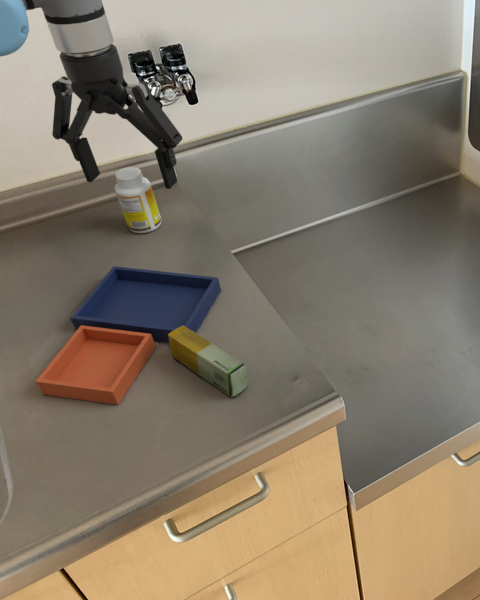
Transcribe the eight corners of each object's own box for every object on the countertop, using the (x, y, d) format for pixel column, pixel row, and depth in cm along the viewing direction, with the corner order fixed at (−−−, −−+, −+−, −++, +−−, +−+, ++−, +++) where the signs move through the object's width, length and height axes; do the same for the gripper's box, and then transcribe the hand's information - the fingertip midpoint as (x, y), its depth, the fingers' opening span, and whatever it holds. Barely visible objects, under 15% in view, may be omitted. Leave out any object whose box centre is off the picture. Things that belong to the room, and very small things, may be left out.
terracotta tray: (43, 394, 77) (35, 381, 75) (87, 338, 84) (80, 325, 83) (118, 405, 76) (112, 391, 74) (156, 346, 83) (151, 333, 81)
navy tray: (76, 331, 85) (69, 317, 84) (118, 278, 94) (113, 265, 92) (188, 344, 83) (184, 331, 82) (221, 290, 92) (218, 277, 90)
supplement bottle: (153, 212, 108) (137, 160, 101) (168, 226, 105) (152, 173, 98) (123, 225, 105) (103, 172, 98) (137, 239, 102) (118, 185, 95)
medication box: (249, 387, 78) (247, 364, 75) (233, 399, 76) (230, 376, 74) (186, 345, 83) (182, 323, 81) (170, 356, 81) (165, 333, 79)
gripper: (182, 42, 86) (214, 175, 100) (22, 34, 90) (74, 164, 104) (158, 62, 81) (195, 199, 95) (-12, 52, 84) (48, 187, 98)
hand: (132, 181), depth 99 cm, fingers open, 13 cm apart
